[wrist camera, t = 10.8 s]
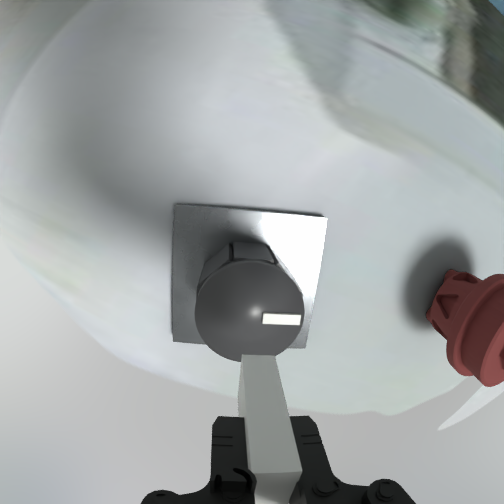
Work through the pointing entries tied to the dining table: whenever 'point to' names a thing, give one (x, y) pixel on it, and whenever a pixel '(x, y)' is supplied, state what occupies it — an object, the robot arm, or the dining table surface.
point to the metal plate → (228, 231)
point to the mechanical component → (472, 324)
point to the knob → (248, 302)
